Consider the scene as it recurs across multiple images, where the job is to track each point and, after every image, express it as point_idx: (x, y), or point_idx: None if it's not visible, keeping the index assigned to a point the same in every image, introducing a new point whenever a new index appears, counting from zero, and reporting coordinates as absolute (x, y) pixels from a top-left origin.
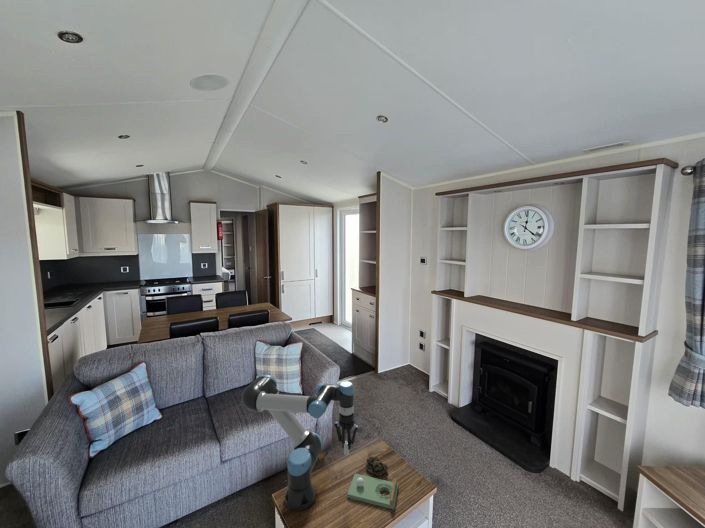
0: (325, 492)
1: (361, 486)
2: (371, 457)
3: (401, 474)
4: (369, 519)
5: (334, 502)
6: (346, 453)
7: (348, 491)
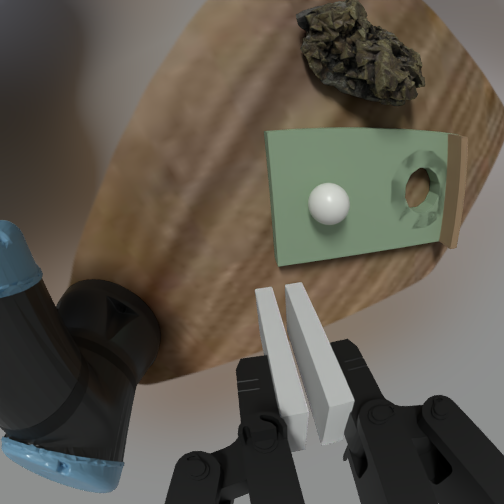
0: (172, 273)
1: None
2: (333, 14)
3: (447, 67)
4: (374, 298)
5: (233, 297)
6: (294, 348)
7: (278, 252)
